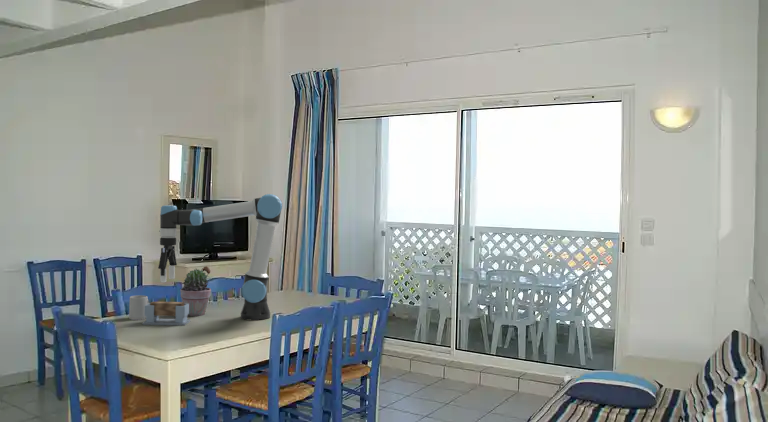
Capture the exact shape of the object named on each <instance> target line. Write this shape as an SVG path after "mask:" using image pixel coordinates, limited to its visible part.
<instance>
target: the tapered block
mask: <svg viewBox="0 0 768 422" xmlns="http://www.w3.org/2000/svg"><path fill="white" fill-rule="evenodd" d="M149 303H150V305H154V315H155V316H159V317H162V316H164V317H176V306H184V302H183V301H151V302H149Z"/></svg>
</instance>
